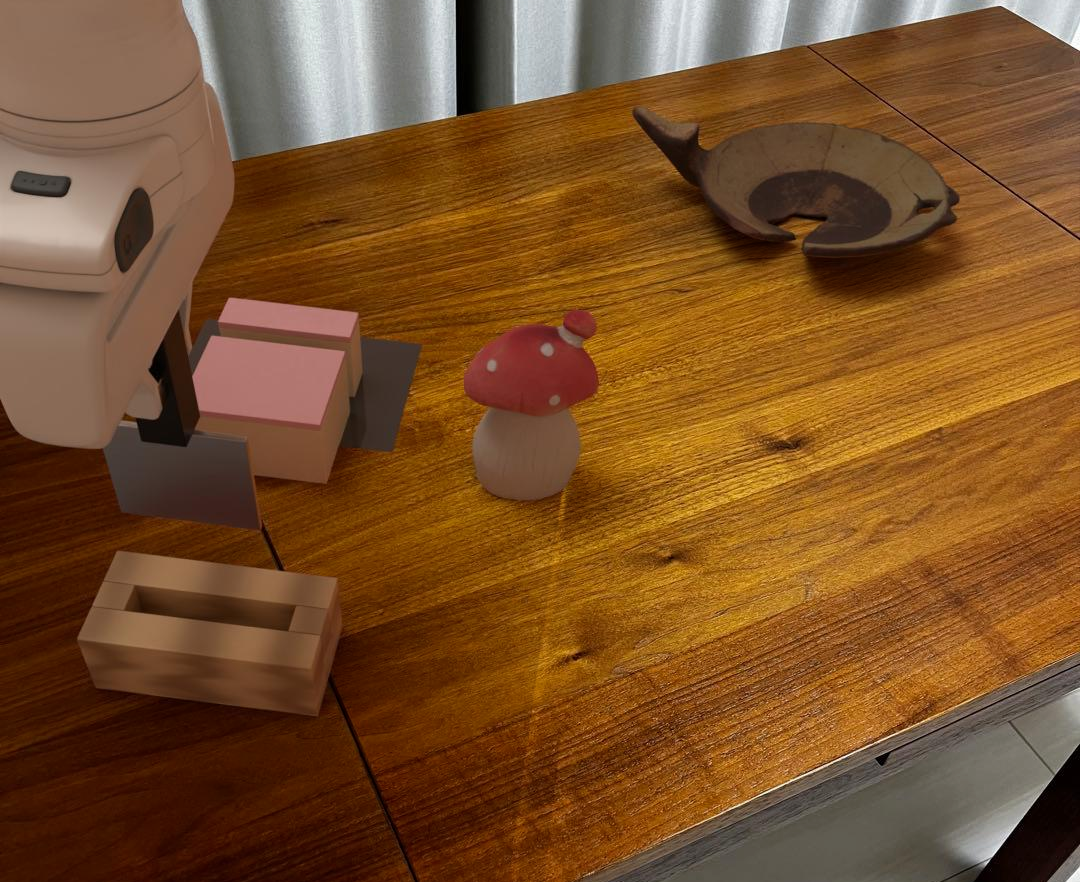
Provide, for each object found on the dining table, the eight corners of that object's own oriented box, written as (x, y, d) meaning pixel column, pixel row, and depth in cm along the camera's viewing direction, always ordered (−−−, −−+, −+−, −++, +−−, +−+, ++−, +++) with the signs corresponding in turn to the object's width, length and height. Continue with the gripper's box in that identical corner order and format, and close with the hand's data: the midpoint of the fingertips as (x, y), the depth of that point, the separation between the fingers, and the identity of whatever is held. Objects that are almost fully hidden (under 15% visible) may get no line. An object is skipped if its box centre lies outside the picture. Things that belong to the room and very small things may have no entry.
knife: (114, 525, 67) (49, 310, 55) (129, 494, 68) (69, 279, 57) (255, 544, 66) (219, 332, 55) (267, 513, 68) (233, 300, 57)
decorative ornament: (587, 453, 91) (607, 294, 80) (585, 516, 87) (606, 357, 76) (466, 444, 91) (469, 283, 80) (458, 506, 87) (460, 346, 76)
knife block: (98, 696, 75) (75, 639, 70) (135, 609, 79) (117, 550, 75) (319, 724, 74) (310, 669, 70) (343, 635, 79) (337, 577, 74)
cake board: (134, 479, 87) (132, 471, 86) (207, 325, 99) (206, 318, 98) (378, 509, 86) (378, 501, 86) (422, 351, 98) (422, 343, 98)
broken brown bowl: (869, 332, 103) (894, 258, 98) (595, 196, 115) (603, 123, 109) (980, 225, 116) (1008, 154, 110) (722, 112, 127) (735, 42, 121)
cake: (191, 468, 87) (177, 407, 82) (222, 396, 92) (211, 335, 88) (326, 485, 87) (320, 424, 82) (350, 411, 92) (345, 350, 87)
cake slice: (228, 382, 93) (217, 321, 89) (239, 358, 95) (229, 297, 91) (354, 397, 93) (350, 337, 88) (362, 372, 95) (358, 312, 90)
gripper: (115, 10, 56) (165, 255, 67) (-84, 265, 43) (17, 522, 53) (247, 26, 56) (276, 269, 67) (88, 287, 43) (155, 541, 53)
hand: (159, 384), depth 60 cm, fingers closed on knife, 2 cm apart
